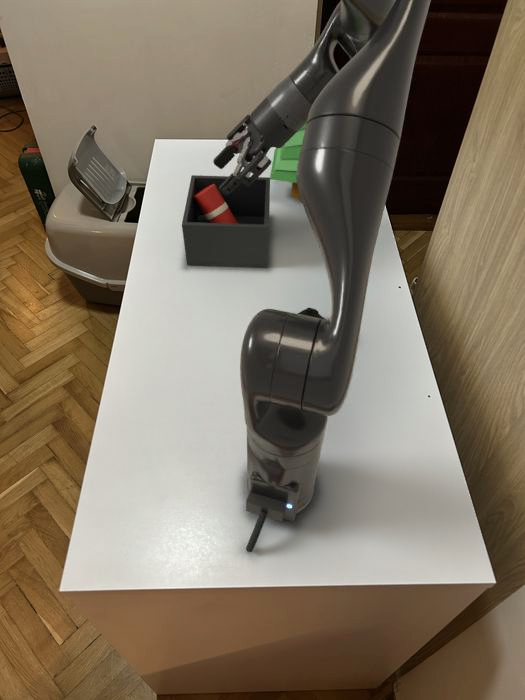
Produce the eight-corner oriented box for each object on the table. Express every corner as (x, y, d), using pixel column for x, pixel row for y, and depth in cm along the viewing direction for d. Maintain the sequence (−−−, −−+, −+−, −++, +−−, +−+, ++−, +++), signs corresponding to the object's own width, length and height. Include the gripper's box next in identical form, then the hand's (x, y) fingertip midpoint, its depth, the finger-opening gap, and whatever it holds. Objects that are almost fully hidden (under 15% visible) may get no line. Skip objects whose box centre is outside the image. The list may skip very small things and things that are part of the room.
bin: (267, 268, 103) (268, 227, 95) (187, 265, 103) (181, 224, 95) (269, 218, 113) (270, 177, 105) (195, 215, 113) (191, 175, 105)
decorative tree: (291, 168, 124) (300, 27, 101) (347, 193, 118) (370, 49, 95) (255, 194, 118) (255, 50, 94) (313, 222, 112) (328, 76, 88)
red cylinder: (222, 237, 103) (197, 196, 100) (214, 237, 108) (190, 197, 104) (242, 223, 104) (217, 182, 101) (233, 224, 109) (210, 184, 105)
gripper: (261, 77, 91) (199, 145, 98) (277, 119, 82) (208, 190, 89) (290, 106, 95) (229, 168, 103) (308, 148, 87) (240, 213, 94)
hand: (219, 178), depth 96 cm, fingers open, 8 cm apart
